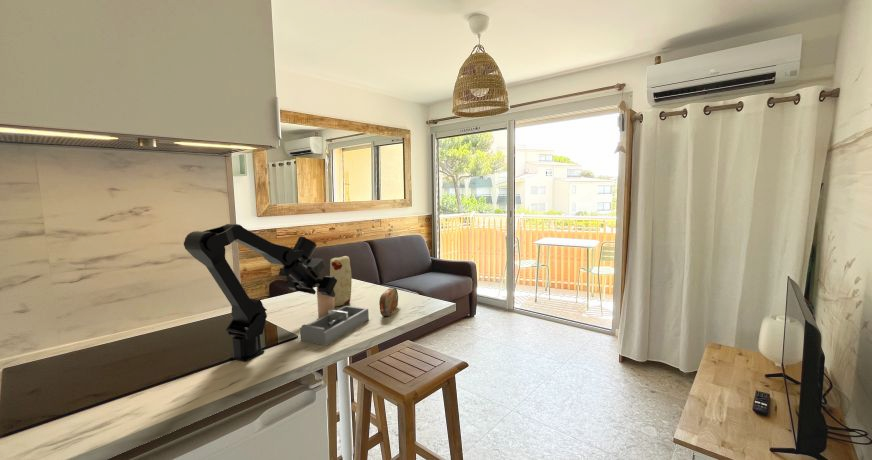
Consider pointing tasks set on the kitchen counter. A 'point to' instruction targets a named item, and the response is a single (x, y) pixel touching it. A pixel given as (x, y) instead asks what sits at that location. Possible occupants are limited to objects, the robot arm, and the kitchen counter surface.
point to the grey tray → (333, 326)
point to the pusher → (336, 317)
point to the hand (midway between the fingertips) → (324, 294)
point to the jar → (324, 304)
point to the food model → (341, 279)
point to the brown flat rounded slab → (388, 302)
